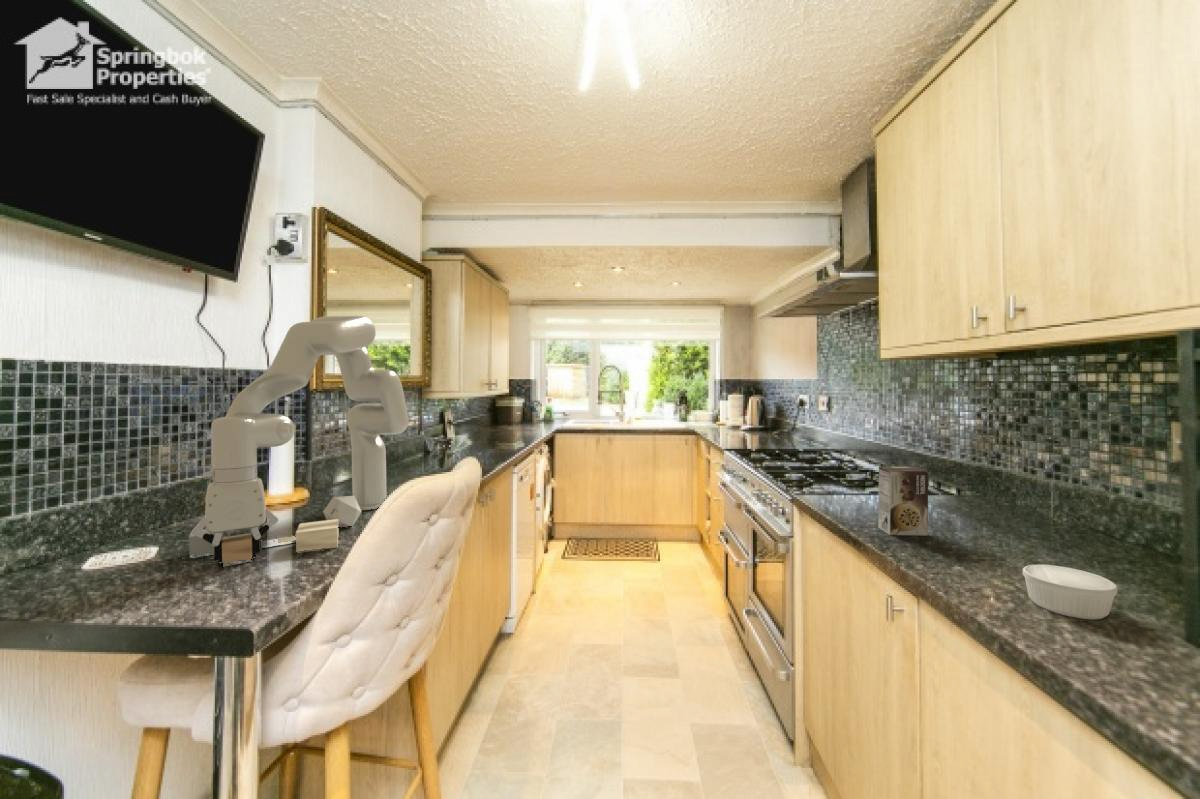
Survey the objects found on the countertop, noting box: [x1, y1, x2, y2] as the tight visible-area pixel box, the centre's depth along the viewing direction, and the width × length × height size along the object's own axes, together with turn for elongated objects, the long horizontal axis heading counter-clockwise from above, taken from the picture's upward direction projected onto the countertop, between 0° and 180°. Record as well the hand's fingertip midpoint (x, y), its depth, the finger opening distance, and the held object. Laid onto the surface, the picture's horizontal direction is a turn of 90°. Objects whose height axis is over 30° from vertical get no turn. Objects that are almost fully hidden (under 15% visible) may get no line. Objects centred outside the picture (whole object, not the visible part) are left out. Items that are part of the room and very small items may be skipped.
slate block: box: [188, 528, 215, 555], centre depth 107 cm, size 5×5×5 cm
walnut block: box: [221, 532, 253, 563], centre depth 102 cm, size 5×5×5 cm
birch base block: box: [295, 519, 340, 553], centre depth 112 cm, size 8×8×5 cm
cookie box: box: [877, 466, 929, 536], centre depth 120 cm, size 9×6×16 cm
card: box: [273, 534, 296, 543], centre depth 114 cm, size 6×8×1 cm
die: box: [322, 495, 363, 527], centre depth 127 cm, size 8×9×10 cm
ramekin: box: [1022, 564, 1119, 620], centre depth 80 cm, size 11×11×5 cm
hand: (237, 558), depth 102 cm, fingers closed on walnut block, 4 cm apart
